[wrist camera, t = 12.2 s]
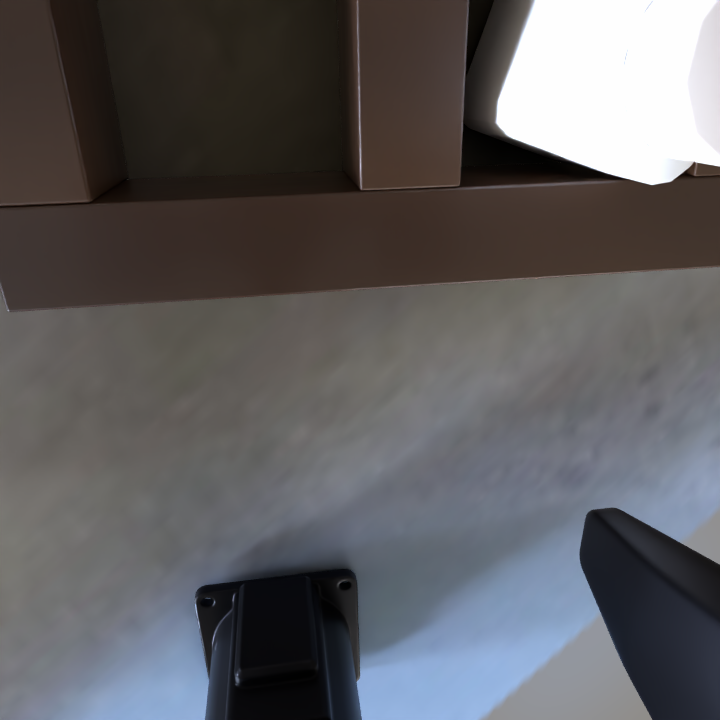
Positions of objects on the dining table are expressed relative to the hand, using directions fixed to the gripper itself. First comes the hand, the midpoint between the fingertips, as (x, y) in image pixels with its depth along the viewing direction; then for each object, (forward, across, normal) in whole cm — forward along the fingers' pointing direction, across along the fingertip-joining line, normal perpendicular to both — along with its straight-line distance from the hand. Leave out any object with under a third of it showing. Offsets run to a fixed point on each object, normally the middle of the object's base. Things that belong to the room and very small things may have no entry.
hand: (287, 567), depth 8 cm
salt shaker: (+12, -8, -6) cm, 16 cm away
